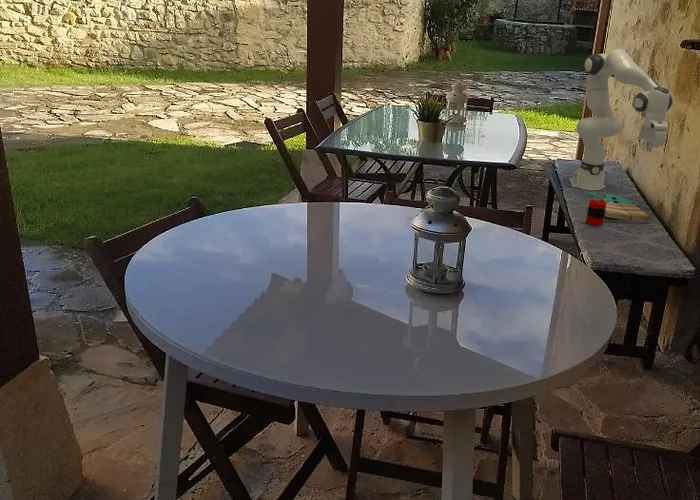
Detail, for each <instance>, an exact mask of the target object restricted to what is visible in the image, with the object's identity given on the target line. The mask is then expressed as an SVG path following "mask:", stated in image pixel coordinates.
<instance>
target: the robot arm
mask: <svg viewBox="0 0 700 500" xmlns="http://www.w3.org/2000/svg"><path fill="white" fill-rule="evenodd" d="M583 65H584V66H583V67H584V71H585V73H586V74H587V78H586V89H585V91H586V106H587V108H588V109H589V110H591V112H593V113H594V116H591V117H589V116H588V117H585V118H581V119H579V121H578V122H577V124H576V132H577V135H578V136H579V137H580V138H581V140H582V141H583V142H582V143H583V146H584V147H583V155H582V160H581V162H580V165H579V167H578V168H577V169H576V170H575V171H574V172H572V177H570V178H569V179H568V180H569V183H570V185H571V187H572V188H578V189H581V190H585V191H586V190H587V191H600V190H603V189H606V187H607V186H606V185H605V176H606V173H605V171H604V169H605V163H604V162H605V158H606V157H605V156H606V148H605V146H604V145H602V144H601V138H611V137H614V136H618V135H619V134H620V133H621V131H622V128H623V127H622V126H623V125H622V121H621V120H620V118H618V117H617V116H616V114H614V112H613V109H612V107H611V104H610V95H609V94H610V93H609V81H608V80H609V78H610V77H611V78H615V79H616V81H619V83H622V84H625V85H631V86H636V87H639V88H641V89H643V90H644V91H642V92H638V93H637V94H636V95H635V97H634V98H633V102H632V105H633V108H634V110H635V111H636V112H639V113H645V117H644V122H643V123H642V124H641V128H640V131H639V135H638V136H639V138H640V139H642V140H644V141H645V151H646V152H649V153H652V152H653V149H654V147H663V146H664V144H665V141H666V136H667V131H668V130H669V125H668V123H667V120H666V118H667V115H666V114H667V112H668V111H669V110H670V109H671V107H672V105H673V97H672V95H671V94H670V91H669V89H667V88H666V87H661V86H660V85H659V84H658V83H657V82H656V81H655V80H654V78H653V77H652V76H651V75H650V74H649V73H648V72H646V71H645V70H643V69H642V68H641V67H640V66H638V64H636V63H635V61H634V60H633V58H632V57H631V56H630V55H629V53H627V52H626V51H625V50H624V49H623V48H615V49H613V50H610V52H608V53H607V52H605V53H598V54H596V53H594V54H590V55H589V56H587V57H586V59H585V61H584V64H583Z"/></svg>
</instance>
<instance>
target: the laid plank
mask: <svg viewBox="0 0 700 500" xmlns="http://www.w3.org/2000/svg"><path fill="white" fill-rule="evenodd" d="M619 205H620V206H621V207H622V208H623V209H624V210H626V211H627V212H628V213H629V214H630V215H631V216H632V217H631V221H650V215H649V214H647V213H646V212H645V211H644V210H642V209H641V208H640V207H638V205H636V204H634V203H632V204H619Z"/></svg>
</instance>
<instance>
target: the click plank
mask: <svg viewBox="0 0 700 500" xmlns="http://www.w3.org/2000/svg"><path fill="white" fill-rule="evenodd" d="M606 203H607V204H606V209H605V214H604V215H605V216H606V217H611V218H617V219H624V220H630V221H631V217H632V216H631V215H630V214H629V213H628V212H627V211H626V210H624V209H623V208H622V207H621V206H620V205H619V204H616V203H609V202H606Z"/></svg>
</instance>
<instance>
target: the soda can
mask: <svg viewBox="0 0 700 500" xmlns="http://www.w3.org/2000/svg"><path fill="white" fill-rule="evenodd" d="M606 204H607V203H606V202H605V200H604V199H602V198H593V197H591V199H590V200H589V202H588V206H587V207H588V210H587V214H586V219H585V223H586V224H587V225H588V226H592V227H601V226H603V224H604V222H603V220H604V214H605V209H606Z"/></svg>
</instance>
